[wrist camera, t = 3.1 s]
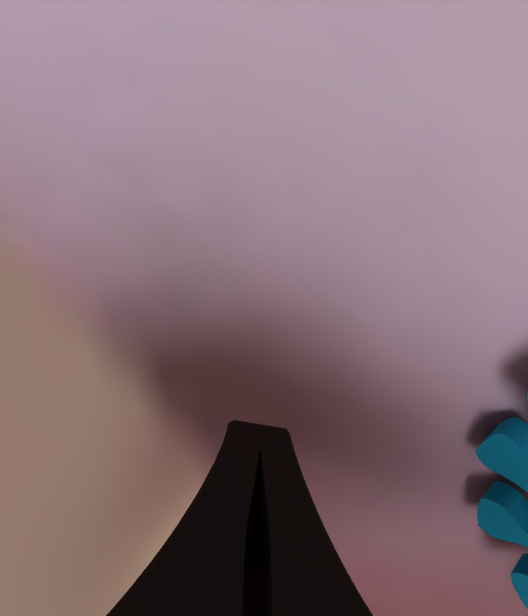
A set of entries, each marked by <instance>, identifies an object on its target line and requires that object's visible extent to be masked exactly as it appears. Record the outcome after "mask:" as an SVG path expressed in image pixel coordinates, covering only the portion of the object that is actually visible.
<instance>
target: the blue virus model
mask: <svg viewBox="0 0 528 616" xmlns="http://www.w3.org/2000/svg"><path fill="white" fill-rule="evenodd" d="M527 401H528V395H527ZM475 452H476V454H477V456H478V458H479V459H480V460H481V462H482V463H483V464H484V465H486V466H487V467H488V468H489V469H491V470H492V471H494V472H496V473H498V474H500V475H502V476H504V477H506V478H507V479H509V480H511V481H512V482H514V483H515V484H517V485H518V486H519V487H521V488H522V489H523V490H525V491H526V492H527V493H528V425H527V424H526V423H525V422H523V421H522V420H520V419H518V418H516V417H512V418H508V419H506V420H504V421H503V422H501V423H500V424H499V425H498V426H497V427H496V428H495V429H494V430H493V431H492V432H491V433H490V434H489V435H488V437H487V438H486V439H485V440H484V441H483V442H482V443H481V445H480V446H479V447H478V448H477V450H476V451H475ZM477 518H478V526H479V527H480V528H481V529H482V530H484V531H485V532H486V533H488V534H489V535H491V536H493V537H494V538H497V539H500V540H504V541H510V542H513V543H516V544H519V545H522V546H524V547H527V548H528V501H527V500H526V499H525V497H524V496H523V495H522V494H521V493H520V492H519V491H518V490H517V489H515V488H514V487H512V486H510V485H508V484H506V483H504V482H500V481H495V482H494V483H493V485H492V486H491V487H490V488H489V490H488V491H487V492H486V494H485V495H484V496H483V497H482V499H481V500H480V502H479V505H478V510H477ZM511 579H512V582H513V585H514V588H515V589H516V591H517V593H518V595H519V597H520V599H521V600H522V602H523V603H524V605H525V607H526V608H527V609H528V553H526V554H523V555H522V557H521V558H520V560H519V561H518V563H517V565H516V566H515V568H514V569H513V571H512V573H511Z"/></svg>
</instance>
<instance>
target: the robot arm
mask: <svg viewBox="0 0 528 616" xmlns="http://www.w3.org/2000/svg"><path fill="white" fill-rule="evenodd" d="M106 616H373V615H372V613H371V612H370V610H369V609H368V607H367V605H366V604H365V602H364V600H363V599H362V597H361V595H360V594H359V592H358V590H357V589H356V587H355V585H354V583H353V582H352V580H351V578H350V576H349V575H348V573H347V571H346V569H345V567H344V565H343V564H342V562H341V560H340V558H339V556H338V554H337V552H336V550H335V548H334V546H333V544H332V542H331V540H330V538H329V536H328V534H327V532H326V530H325V527H324V525H323V523H322V521H321V519H320V516H319V514H318V512H317V509H316V507H315V505H314V502H313V500H312V497H311V495H310V493H309V490H308V488H307V485H306V483H305V480H304V477H303V475H302V472H301V469H300V466H299V463H298V460H297V457H296V454H295V451H294V448H293V444H292V440H291V436H290V433H289V432H288V430H287V429H284V428H278V427H272V426H266V425H260V424H254V423H248V422H242V421H236V420H233V421H231V422H230V423H228V428H227V432H226V435H225V438H224V441H223V444H222V446H221V449H220V451H219V453H218V455H217V458H216V460H215V462H214V464H213V466H212V468H211V470H210V472H209V473H208V475H207V477H206V479H205V481H204V483H203V485H202V486H201V488H200V490H199V492H198V493H197V495H196V497H195V498H194V500H193V501H192V503H191V505H190V506H189V508H188V509H187V511H186V513H185V514H184V516H183V517H182V519H181V520H180V522H179V524H178V525H177V527H176V528H175V529H174V531H173V533H172V534H171V535H170V537H169V538H168V539H167V541H166V542H165V544H164V545H163V546H162V548H161V549H160V551H159V552H158V553H157V554H156V556H155V557H154V558H153V560H152V561H151V562H150V564H149V565H148V566H147V567H146V569H145V570H144V571H143V572H142V574H141V575H140V576H139V577H138V579H137V580H136V581H135V582H134V584H133V585H132V586H131V587H130V589H129V590H128V591H127V592H126V594H125V595H124V596H123V597H122V598H121V599H120V601H119V602H118V603H117V604H116V605H115V606H114V608H113V609H112V610H111V611H110V612H109V613H108V614H107V615H106Z"/></svg>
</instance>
